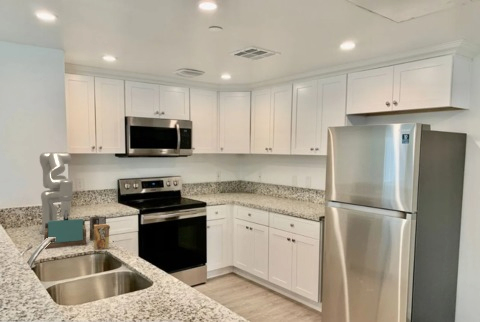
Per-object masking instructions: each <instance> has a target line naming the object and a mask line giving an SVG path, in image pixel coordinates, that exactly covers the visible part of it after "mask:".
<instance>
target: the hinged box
mask: <svg viewBox="0 0 480 322" xmlns="http://www.w3.org/2000/svg"><path fill="white" fill-rule="evenodd" d="M43 235H44V236H43V237H44V239H43V240H45V239H46V238H48V223H45V233H44V234H43ZM84 245H85V246H86V245H87V228H86V221H85V220H84V219H83V240H80V241H69V242H59V243H50V244H49V245H48V246H47V247H46V248H45V249H44V250H47V249H56V248H66V247H76V246H84Z"/></svg>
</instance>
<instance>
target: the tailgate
mask: <svg viewBox="0 0 480 322" xmlns="http://www.w3.org/2000/svg"><path fill="white" fill-rule="evenodd" d="M83 221H84V219H83V218H75V219H73V218H72V219H68V220H64V219H62V220H60V219H59V220H58V219H57V221H48V237H56V241H55V242H54V243H59V242H69V241H80V240H83Z"/></svg>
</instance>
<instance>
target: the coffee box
mask: <svg viewBox="0 0 480 322" xmlns="http://www.w3.org/2000/svg"><path fill="white" fill-rule="evenodd" d="M100 224H107V217H106V216H98V215H95V216H94V215H93V216H91V217H89V241H91V240H94V225H100Z"/></svg>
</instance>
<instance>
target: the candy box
mask: <svg viewBox="0 0 480 322" xmlns="http://www.w3.org/2000/svg"><path fill="white" fill-rule="evenodd" d="M102 248H110V224H109V223H106V224H100V225H94V241H93V250H94V249H98V250H103V249H102Z"/></svg>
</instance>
